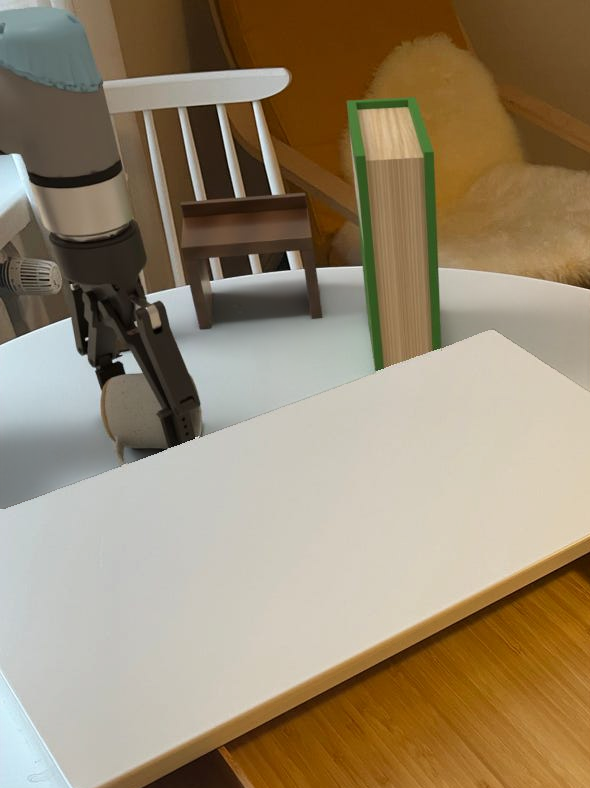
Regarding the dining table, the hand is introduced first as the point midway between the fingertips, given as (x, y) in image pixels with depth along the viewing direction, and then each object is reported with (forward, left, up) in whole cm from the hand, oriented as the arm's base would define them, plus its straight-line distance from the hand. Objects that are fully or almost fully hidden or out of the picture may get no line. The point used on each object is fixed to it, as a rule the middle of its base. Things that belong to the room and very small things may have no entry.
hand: (156, 443), depth 97 cm
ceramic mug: (+1, 0, -1) cm, 1 cm away
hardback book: (+3, +32, -1) cm, 32 cm away
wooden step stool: (-18, +27, 0) cm, 32 cm away
